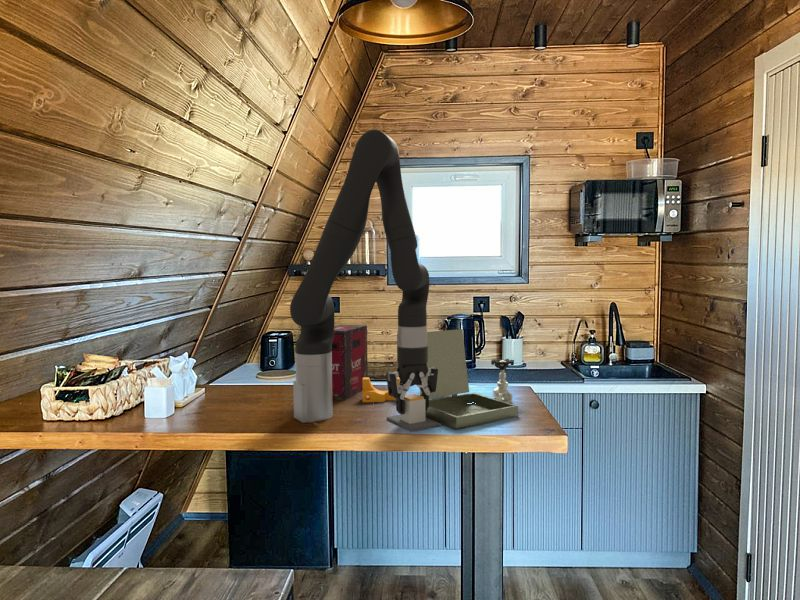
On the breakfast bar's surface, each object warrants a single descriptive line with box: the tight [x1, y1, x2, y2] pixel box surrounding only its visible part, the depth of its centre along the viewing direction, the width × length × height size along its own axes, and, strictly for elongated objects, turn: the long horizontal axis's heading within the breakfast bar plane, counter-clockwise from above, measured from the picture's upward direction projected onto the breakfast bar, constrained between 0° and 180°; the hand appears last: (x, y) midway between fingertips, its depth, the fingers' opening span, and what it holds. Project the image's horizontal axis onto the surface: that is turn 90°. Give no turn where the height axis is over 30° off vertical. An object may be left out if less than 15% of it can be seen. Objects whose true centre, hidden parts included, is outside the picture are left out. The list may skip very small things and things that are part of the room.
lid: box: [419, 328, 470, 400], centre depth 152 cm, size 16×18×2 cm
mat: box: [386, 414, 441, 432], centre depth 137 cm, size 8×12×1 cm, turn 32°
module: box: [399, 393, 425, 424], centre depth 137 cm, size 4×4×6 cm
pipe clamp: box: [361, 377, 404, 403], centre depth 160 cm, size 12×4×6 cm, turn 90°
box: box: [332, 324, 369, 401], centre depth 170 cm, size 16×9×20 cm, turn 160°
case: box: [425, 392, 519, 431], centre depth 145 cm, size 20×22×11 cm
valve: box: [490, 358, 515, 404], centre depth 156 cm, size 7×7×12 cm
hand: (412, 411), depth 137 cm, fingers open, 6 cm apart
